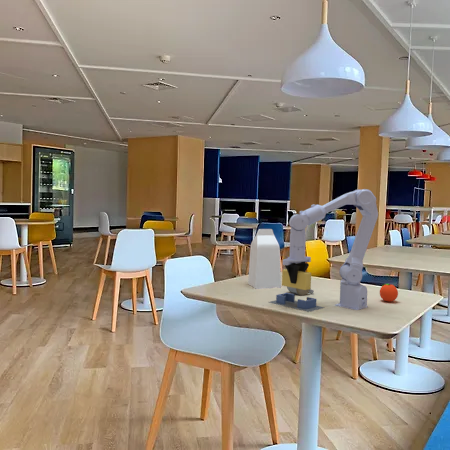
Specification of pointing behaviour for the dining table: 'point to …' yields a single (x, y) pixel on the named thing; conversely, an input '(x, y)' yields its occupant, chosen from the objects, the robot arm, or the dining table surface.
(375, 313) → the dining table surface
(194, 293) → the dining table surface
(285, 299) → the end cap
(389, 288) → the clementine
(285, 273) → the slat
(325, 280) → the dining table surface
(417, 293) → the dining table surface
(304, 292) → the ceramic mug
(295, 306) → the mat
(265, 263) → the milk
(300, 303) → the end cap
